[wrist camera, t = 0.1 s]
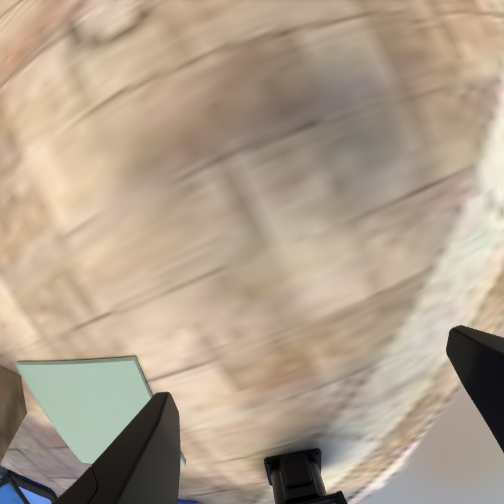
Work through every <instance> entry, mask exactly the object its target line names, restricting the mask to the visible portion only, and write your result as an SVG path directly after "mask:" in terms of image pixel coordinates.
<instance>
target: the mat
mask: <svg viewBox="0 0 504 504" xmlns="http://www.w3.org/2000/svg"><path fill="white" fill-rule="evenodd" d="M16 366H17V368H18V370H19V372H20V374H21V375H22V377H23V379H24V381H25V382H26V384H27V386H28V388H29V389H30V391H31V392H32V394H33V396H34V397H35V399H36V401H37V402H38V404H39V405H40V407H41V408H42V410H43V411H44V413H45V414H46V416H47V417H48V419H49V420H50V422H51V423H52V424H53V426H54V427H55V429H56V430H57V431H58V433H59V434H60V436H61V437H62V438H63V440H64V441H65V442H66V444H67V445H68V446H69V447H70V449H71V450H72V451H73V453H74V454H75V455H76V456H77V458H78V459H79V460H80V461H81V462H82V463H91V464H93V463H94V462H95V460H96V459H97V458H98V457H99V456H100V455H101V454H102V453H103V452H104V450H105V449H106V448H107V447H108V446H109V445H110V444H111V443H112V442H113V441H114V439H115V438H116V437H117V436H118V435H119V434H120V433H121V432H122V430H123V429H124V428H125V427H126V426H127V425H128V424H129V423H130V421H131V420H132V419H133V418H134V417H135V416H136V415H137V414H138V412H139V411H140V410H141V409H142V408H143V407H144V406H145V405H146V403H147V402H148V401H149V400H150V399H151V398H152V397H153V396H152V394H151V391H150V389H149V387H148V385H147V382H146V380H145V378H144V375H143V373H142V371H141V368H140V366H139V363H138V361H137V359H136V356H133V357H121V358H107V359H91V360H72V361H36V362H17V364H16ZM180 466H186V461H185V460H184V458H183V456H182V454H181V463H180Z"/></svg>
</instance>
